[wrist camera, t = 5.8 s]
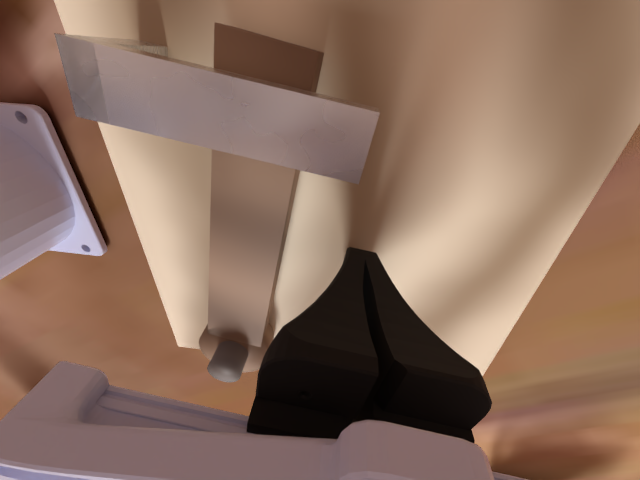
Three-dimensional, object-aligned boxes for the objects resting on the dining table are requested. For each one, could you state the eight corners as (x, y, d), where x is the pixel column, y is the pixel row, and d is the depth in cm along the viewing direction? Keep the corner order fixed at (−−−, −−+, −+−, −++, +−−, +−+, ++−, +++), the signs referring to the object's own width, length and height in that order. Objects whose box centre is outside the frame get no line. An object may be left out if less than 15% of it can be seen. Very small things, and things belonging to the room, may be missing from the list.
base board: (185, 334, 21) (178, 346, 20) (59, -52, 10) (31, -62, 9) (470, 372, 19) (475, 387, 18) (704, -34, 8) (743, -45, 7)
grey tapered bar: (270, 354, 19) (256, 400, 16) (211, 339, 19) (187, 382, 16) (339, 57, 9) (331, 56, 7) (221, 23, 9) (171, 10, 7)
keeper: (374, 97, 10) (380, 112, 7) (358, 153, 11) (358, 184, 8) (139, 39, 10) (54, 33, 7) (147, 101, 11) (76, 116, 8)
